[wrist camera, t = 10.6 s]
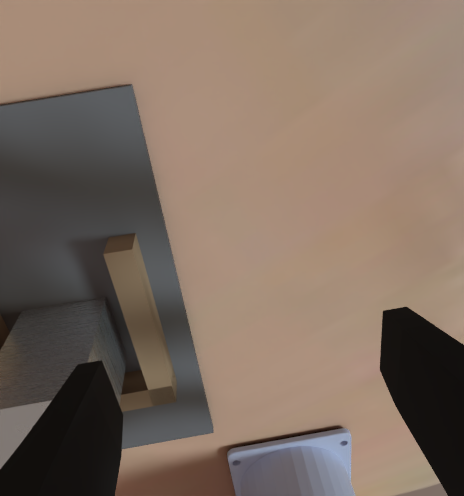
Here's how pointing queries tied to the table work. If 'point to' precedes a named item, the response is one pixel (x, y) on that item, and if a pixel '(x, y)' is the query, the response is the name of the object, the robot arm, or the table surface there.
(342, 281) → the table surface
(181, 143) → the table surface
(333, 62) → the table surface
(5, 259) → the dock
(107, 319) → the aluminium block
